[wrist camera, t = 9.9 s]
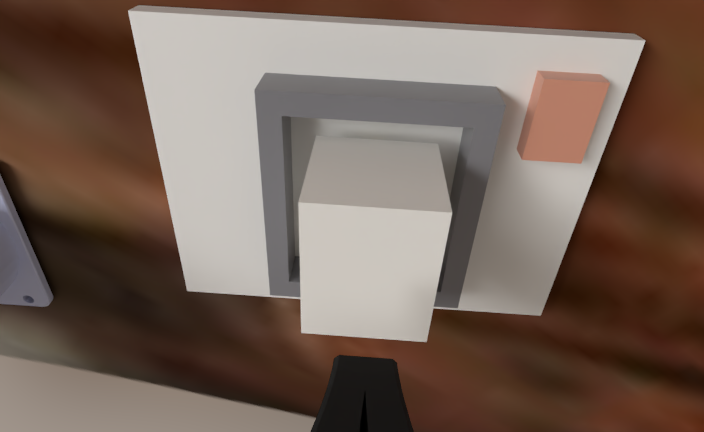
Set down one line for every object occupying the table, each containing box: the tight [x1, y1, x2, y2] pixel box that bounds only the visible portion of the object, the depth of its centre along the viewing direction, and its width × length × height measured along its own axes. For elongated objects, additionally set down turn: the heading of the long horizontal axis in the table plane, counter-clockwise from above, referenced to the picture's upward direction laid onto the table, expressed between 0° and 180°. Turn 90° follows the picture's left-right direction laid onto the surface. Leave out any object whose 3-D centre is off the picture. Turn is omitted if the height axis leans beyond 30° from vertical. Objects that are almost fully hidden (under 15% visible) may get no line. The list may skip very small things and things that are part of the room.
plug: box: [298, 136, 452, 342], centre depth 16 cm, size 4×5×5 cm
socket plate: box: [128, 5, 646, 316], centre depth 18 cm, size 16×12×2 cm
